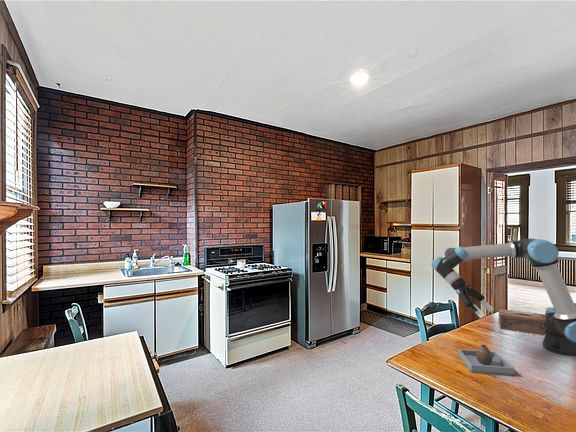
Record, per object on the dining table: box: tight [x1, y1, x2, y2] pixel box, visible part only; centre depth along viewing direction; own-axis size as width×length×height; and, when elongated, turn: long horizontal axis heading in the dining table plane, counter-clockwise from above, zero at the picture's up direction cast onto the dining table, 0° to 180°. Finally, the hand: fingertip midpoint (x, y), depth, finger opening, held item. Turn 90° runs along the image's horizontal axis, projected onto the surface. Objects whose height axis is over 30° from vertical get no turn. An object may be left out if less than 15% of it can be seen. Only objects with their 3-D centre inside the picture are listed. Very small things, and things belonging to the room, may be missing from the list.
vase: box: [476, 344, 492, 365], centre depth 149 cm, size 7×7×9 cm
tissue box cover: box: [498, 308, 546, 336], centre depth 196 cm, size 26×14×10 cm, turn 58°
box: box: [457, 348, 515, 377], centre depth 148 cm, size 18×18×4 cm
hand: (487, 313), depth 155 cm, fingers open, 13 cm apart
